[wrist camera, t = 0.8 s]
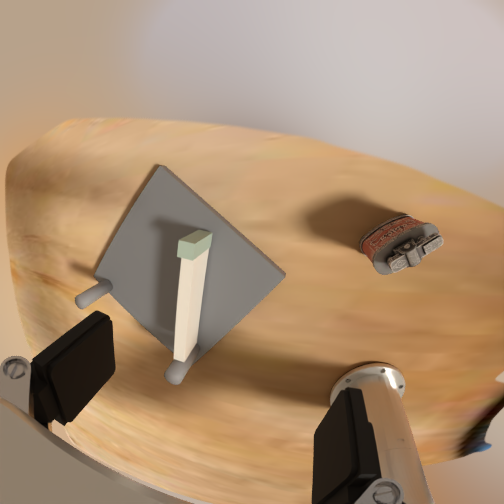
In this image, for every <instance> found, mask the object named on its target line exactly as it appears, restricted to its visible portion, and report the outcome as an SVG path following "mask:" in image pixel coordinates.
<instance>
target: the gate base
mask: <svg viewBox="0 0 504 504" xmlns="http://www.w3.org/2000/svg"><path fill="white" fill-rule="evenodd" d="M197 230H203V231H208V232H212V233H213V234H212V241H211V247H210V248H209V253H208V259H207V266H206V273H205V281H204V288H203V296H202V303H201V311H200V320H199V328H198V337H197V343H196V345H195V346H194V348H193V349H192V351H191V353H190V354H189V356H188V357H187V359H186V360H185V362H181V361H178V360H176V359H174V360H173V362H172V363H171V364H170V366H169V367H168V369H167V370H166V372H165V373H164V377H165V379H166V380H167V381H168V382H169V383H171V384H174V385H178V384H180V383H181V382H182V380H183V378H184V377H185V375H186V373H187V371H188V370H189V368H190V367H191V366H192V365H193V364H194V363H195V362H196V361H198V360H199V359H200V358H201V357H202V356H203V355H204V354H205V353H206V352H207V351H209V350H210V349H211V348H212V347H213V346H214V345H215V344H216V343H217V342H218V341H219V340H220V339H222V338H223V337H224V336H225V335H226V334H227V333H228V332H229V331H230V330H231V329H232V328H233V327H234V326H235V325H236V324H238V323H239V322H240V321H241V320H242V319H243V318H244V317H245V316H246V315H247V314H248V313H249V312H250V311H251V310H252V309H253V308H254V307H255V306H256V305H257V304H258V303H259V302H260V301H261V300H263V299H264V298H265V297H266V296H267V295H268V294H269V293H270V292H271V291H272V290H273V289H274V288H275V287H276V286H277V285H278V284H279V283H280V282H281V281H282V280H283V279H284V278H285V275H286V273H285V272H284V271H283V270H282V269H281V268H279V267H278V266H277V265H276V264H275V263H274V262H273V261H272V260H271V259H269V258H268V257H267V256H266V255H265V254H264V253H263V252H262V251H261V250H259V249H258V248H257V247H256V246H255V245H254V244H253V243H252V242H250V241H249V240H248V239H247V238H246V237H245V236H244V235H243V234H241V233H240V232H239V231H238V230H237V229H236V228H235V227H234V226H232V225H231V224H230V223H229V222H228V221H227V220H226V219H225V218H223V217H222V216H221V215H220V214H219V213H218V212H217V211H216V210H214V209H213V208H212V207H211V206H210V205H209V204H208V203H207V202H205V201H204V200H203V199H202V198H201V197H200V196H199V195H198V194H196V193H195V192H194V191H193V190H192V189H191V188H190V187H189V186H187V185H186V184H185V183H184V182H183V181H182V180H181V179H179V178H178V177H177V176H176V175H175V174H174V173H173V172H172V171H170V170H169V169H168V168H167V167H166V166H159V167H158V169H157V170H156V172H155V173H154V175H153V176H152V178H151V179H150V181H149V182H148V184H147V185H146V187H145V188H144V190H143V191H142V193H141V194H140V196H139V197H138V199H137V200H136V202H135V204H134V205H133V207H132V208H131V210H130V212H129V213H128V215H127V216H126V218H125V220H124V221H123V223H122V225H121V227H120V228H119V230H118V232H117V233H116V235H115V237H114V239H113V240H112V242H111V244H110V246H109V248H108V249H107V251H106V253H105V255H104V257H103V259H102V261H101V263H100V264H99V266H98V268H97V270H96V272H95V274H94V277H95V278H96V280H97V281H98V282H99V283H98V284H96V285H95V286H93V287H91V288H89V289H88V290H86V291H84V292H83V293H81V294H79V295H77V296H76V297H75V303H76V305H77V306H78V308H80V309H84V308H86V307H87V306H89V305H90V304H92V303H93V302H95V301H96V300H98V299H99V298H101V297H102V296H104V295H105V294H107V293H108V292H109V293H110V294H111V295H112V296H113V297H114V298H115V299H116V300H117V301H118V302H119V303H120V304H121V305H122V306H123V307H124V308H125V309H126V310H127V311H128V312H129V313H130V314H131V315H132V316H133V317H134V318H135V319H136V320H137V321H138V322H139V323H140V324H141V325H142V326H143V327H145V328H146V329H147V330H148V331H149V332H150V333H151V334H152V335H153V336H154V337H156V338H157V339H158V340H159V341H160V342H161V343H162V344H164V345H165V346H166V347H167V348H168V349H169V350H170V351H172V352H173V353H174V341H175V325H176V311H177V299H178V288H179V277H180V268H181V258H180V257H177V251H178V242H179V240H180V239H182V238H184V237H186V236H187V235H189V234H191V233H193V232H195V231H197Z"/></svg>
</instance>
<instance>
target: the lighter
mask: <svg viewBox="0 0 504 504" xmlns="http://www.w3.org/2000/svg"><path fill="white" fill-rule="evenodd" d="M442 244H443V238H442V236H441V235H440V234H439V231H438V229H437V227H436V226H435V225H433V224H431V223H423V222H421V221H419V220H416V219H414V218H413V217H412V216H410V215H407V214H403V215H400V216H397V217H394V218H391V219H389V220H387V221H385V222H383V223H381V224H379V225H378V226H376V227H375V228H373V229H372V230H371V231H369V232H368V233H367V234H366V235H365V236H363V237H362V238H361V240H360V242H359V247H360V250H361V251H362V253H363V254H364V255H365V256H367V257H368V258H369V259H370V260H371V262H372V263H373V266H374V268H375V269H376V271H377V272H378V273H380V274H382V275H388V274H391V273H394V272H398V271H400V270H402V269H404V268H406V267H414V266H416V265H418V264H419V263H420V262H421V259H422V258H423V257H424V256H426V255H427V254H429V253H431V252H432V251H434V250H435V249H437V248H439V247H440V246H442Z"/></svg>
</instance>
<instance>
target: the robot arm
mask: <svg viewBox="0 0 504 504" xmlns="http://www.w3.org/2000/svg"><path fill="white" fill-rule="evenodd" d="M32 360H33V361H32V362H31V363H29V361H28V360H27V359H25V358H23V357H21V356H11V357H9V358H7V359H5V360H4V361H3V363H2V364H1V366H0V504H193V503H190V502H187V501H184V500H181V499H178V498H175V497H173V496H170V495H167V494H164V493H162V492H159V491H157V490H154V489H152V488H150V487H147V486H145V485H143V484H140V483H138V482H136V481H134V480H132V479H130V478H127V477H125V476H123V475H121V474H119V473H117V472H116V471H114V470H112V469H110V468H108V467H106V466H104V465H102V464H101V463H99V462H97V461H95V460H94V459H92V458H90V457H89V456H87V455H85V454H84V453H82V452H80V451H79V450H77V449H76V448H74V447H73V446H71V445H70V444H68V443H67V442H65V441H64V440H62V439H61V438H59V437H58V436H56V435H55V434H53V433H52V426H51V425H52V424H51V422H52V421H53V420H54V419H55V420H56V421H58V422H59V423H61V424H62V425H64V426H65V425H66V423H67V422H72V421H73V420H74V419H75V418H76V416H77V415H78V414H79V413H80V412H81V411H82V409H83V408H84V407H85V406H86V405H87V404H88V402H89V401H90V400H91V399H92V398H93V397H94V396H95V394H96V393H97V392H98V391H99V390H100V389H101V388H102V386H103V385H104V384H105V383H106V382H107V381H108V380H109V379H110V377H111V376H112V375H113V374H114V372H115V357H114V343H113V325H112V321H111V320H110V317H109V316H108V315H106V314H104V313H102V312H100V311H95V312H93V313H92V314H90V315H89V316H88V317H86V318H85V319H84V320H82V321H81V322H80V323H78V324H77V325H76V326H74V327H73V328H72V329H70V330H69V331H68V332H66V333H65V334H64V335H62V336H61V337H60V338H59V339H57V340H56V341H55V342H53V343H52V344H51V345H50V346H48V347H47V348H46V349H44V350H43V351H42V352H41V353H39V354H38V355H37V356H36V357H34V358H33V359H32ZM404 391H405V380H404V377H403V375H402V373H401V372H400V371H399V370H398V369H397V368H396V367H394V366H392V365H389V364H384V363H373V364H367V365H363V366H360V367H357V368H355V369H353V370H351V371H349V372H348V373H346V374H345V375H343V376H342V377H341V378H340V379H339V380H338V381H337V382H336V383H335V385H334V386H333V388H332V390H331V394H330V405H331V407H330V409H329V410H328V412H327V414H326V415H325V417H324V418H323V420H322V421H321V423H320V425H319V426H318V428H317V429H316V431H315V434H314V457H313V485H312V504H435V502H434V500H433V498H432V495H431V493H430V490H429V487H428V485H427V481H426V478H425V475H424V471H423V468H422V465H421V461H420V458H419V454H418V451H417V448H416V444H415V441H414V437H413V434H412V431H411V428H410V425H409V421H408V418H407V415H406V412H405V409H404V406H403V403H402V400H401V398H402V396H403V393H404Z"/></svg>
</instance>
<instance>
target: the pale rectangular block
mask: <svg viewBox="0 0 504 504" xmlns="http://www.w3.org/2000/svg"><path fill="white" fill-rule="evenodd" d="M212 234H213V233H212V232H208V231H203V230H197V231H195V232H193V233H191V234H189V235H187V236H186V237H184V238H182V239H180V240H179V242H178V251H177V257H180V258H181V268H180V277H179V288H178V299H177V311H176V325H175V341H174V359H176V360H178V361H181V362H185V360H186V359H187V357H188V356H189V354H190V353H191V351H192V349H193V348H194V346H195V345H196V343H197V337H198V328H199V320H200V311H201V303H202V296H203V288H204V281H205V273H206V266H207V259H208V253H209V248H210V247H211V241H212Z"/></svg>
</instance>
